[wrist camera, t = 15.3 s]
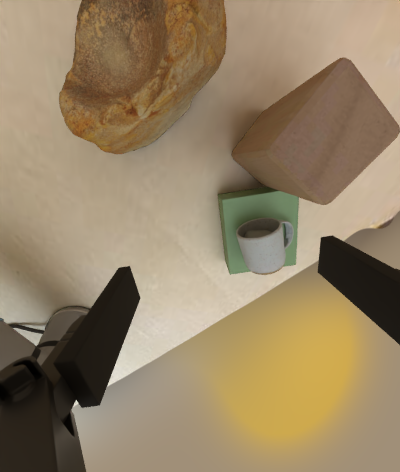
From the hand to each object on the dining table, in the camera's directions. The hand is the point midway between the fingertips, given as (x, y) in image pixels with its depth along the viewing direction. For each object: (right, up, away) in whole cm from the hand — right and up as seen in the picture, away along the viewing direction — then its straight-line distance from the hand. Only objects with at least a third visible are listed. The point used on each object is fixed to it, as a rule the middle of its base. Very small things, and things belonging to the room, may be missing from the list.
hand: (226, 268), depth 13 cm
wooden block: (+11, +19, +24) cm, 32 cm away
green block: (+10, +5, +29) cm, 31 cm away
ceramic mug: (+10, +3, +24) cm, 26 cm away
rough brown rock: (-11, +29, +19) cm, 36 cm away
